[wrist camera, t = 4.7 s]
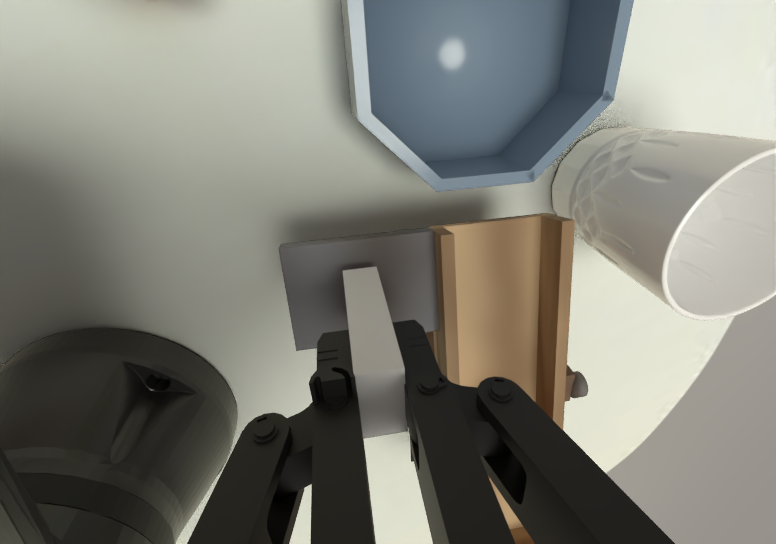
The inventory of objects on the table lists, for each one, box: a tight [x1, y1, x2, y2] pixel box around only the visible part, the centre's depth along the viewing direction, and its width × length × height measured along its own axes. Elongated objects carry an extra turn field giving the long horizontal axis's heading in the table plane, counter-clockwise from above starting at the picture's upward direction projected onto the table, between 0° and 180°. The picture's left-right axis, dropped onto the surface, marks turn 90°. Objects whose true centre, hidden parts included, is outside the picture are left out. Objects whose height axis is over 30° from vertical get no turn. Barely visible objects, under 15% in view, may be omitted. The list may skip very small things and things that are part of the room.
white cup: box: [552, 127, 776, 320], centre depth 20 cm, size 8×8×10 cm
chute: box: [279, 213, 575, 544], centre depth 21 cm, size 13×21×5 cm, turn 3°
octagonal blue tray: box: [341, 0, 634, 192], centre depth 18 cm, size 12×12×4 cm
